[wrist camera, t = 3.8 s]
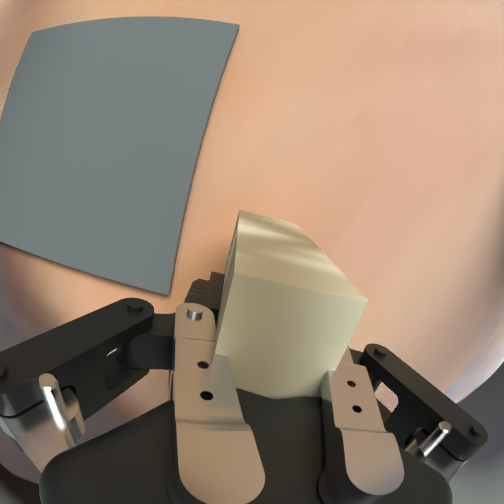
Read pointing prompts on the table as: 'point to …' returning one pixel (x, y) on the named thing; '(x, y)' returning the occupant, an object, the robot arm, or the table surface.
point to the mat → (109, 142)
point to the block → (283, 310)
